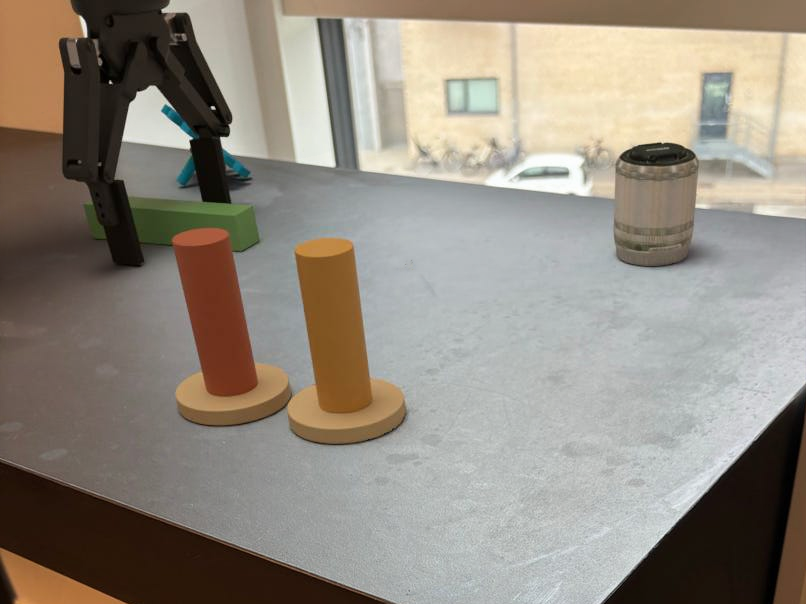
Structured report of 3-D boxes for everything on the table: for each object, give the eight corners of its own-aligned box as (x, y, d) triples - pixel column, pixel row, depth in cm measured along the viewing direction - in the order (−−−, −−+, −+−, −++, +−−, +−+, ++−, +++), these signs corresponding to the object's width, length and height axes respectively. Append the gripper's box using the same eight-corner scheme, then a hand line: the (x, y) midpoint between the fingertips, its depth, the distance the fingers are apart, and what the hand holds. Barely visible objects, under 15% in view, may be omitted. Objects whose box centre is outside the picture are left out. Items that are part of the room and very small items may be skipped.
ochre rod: (267, 435, 60) (233, 262, 53) (325, 386, 65) (300, 223, 58) (373, 451, 57) (350, 273, 51) (424, 399, 62) (410, 231, 56)
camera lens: (600, 248, 83) (603, 144, 78) (671, 238, 84) (678, 134, 79) (630, 272, 78) (635, 163, 73) (705, 261, 79) (714, 152, 74)
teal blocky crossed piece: (257, 171, 101) (168, 99, 96) (224, 221, 103) (134, 153, 98) (250, 162, 110) (168, 96, 106) (220, 208, 112) (138, 145, 107)
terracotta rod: (155, 417, 62) (111, 251, 56) (219, 371, 67) (185, 214, 61) (252, 432, 60) (217, 261, 54) (311, 384, 65) (285, 222, 59)
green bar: (92, 238, 92) (82, 203, 90) (113, 228, 94) (104, 194, 92) (241, 251, 87) (234, 215, 85) (260, 241, 89) (253, 205, 87)
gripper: (34, -30, 67) (122, 289, 80) (240, -66, 85) (284, 200, 98) (-51, -28, 70) (48, 281, 83) (167, -63, 87) (219, 196, 101)
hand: (176, 238), depth 90 cm, fingers open, 13 cm apart
